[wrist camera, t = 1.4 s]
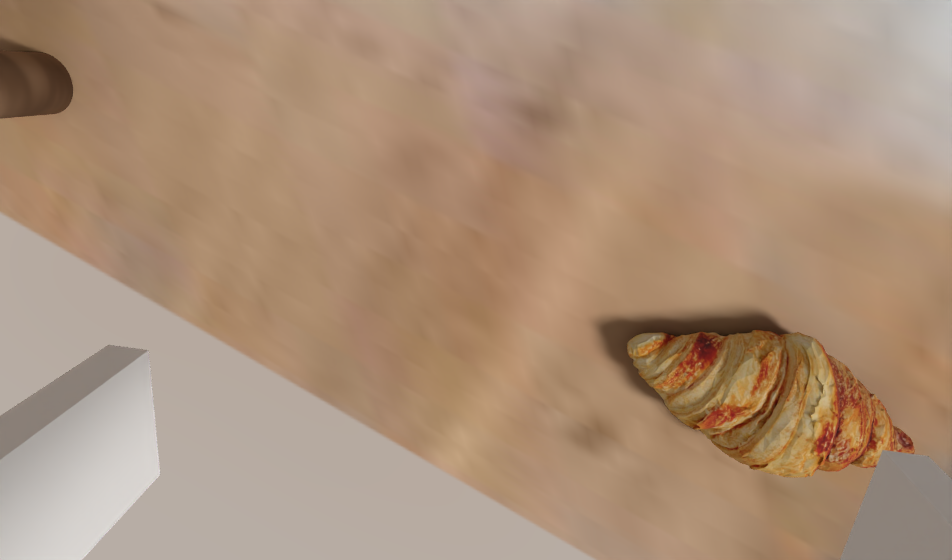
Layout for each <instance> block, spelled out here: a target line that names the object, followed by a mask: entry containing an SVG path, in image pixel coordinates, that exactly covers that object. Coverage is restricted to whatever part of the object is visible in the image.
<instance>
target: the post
mask: <svg viewBox="0 0 952 560" xmlns="http://www.w3.org/2000/svg"><path fill="white" fill-rule="evenodd" d="M72 96H73V85H72V81H71V78H70V75H69V73H68V71H67V70H66V68H65V67H64V66H63V65H62V63H61V62H59V61H58V60H57V59H56V58H54V57H53V56H51V55H48V54H46V53H41V52H21V51H0V118H11V117H23V116H35V115H47V114H56V113H59V112H61V111H63V110H65V109H66V108H67V107H68V105H69V104H70V102H71V99H72Z"/></svg>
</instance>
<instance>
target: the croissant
mask: <svg viewBox="0 0 952 560" xmlns="http://www.w3.org/2000/svg"><path fill="white" fill-rule="evenodd" d="M627 351H628V354H629V356H630V358H632V359H633V360H634V362H633V365H634V366H635V367H636V368H638V370H639V375H640V376H641V377H642V378H643V379H645V381H646V382H647V383H648V385H649V386H650V387H653V388H654V390H655V391H656V392H657V393H658V394H659V395H660V396H661V397H662V398H663V399H664V403H665V405H666V406H667V408H668V409H669V410H670V412H671V413H672V414H673V415H674V416H676V417H677V418H678V419H679V420H680V421H682V422H683V423H684V424H686V425H688V426H690V427H693V429H699V430H700V431H701V432H702V433H703V434H705V435H706V436H707V438H708V439H710V440H711V441H712V443H713V444H714V445H716V446H717V447H718V448H719V449H720V450H722V451H723V452H724V453H725V454H727V455H729V456H730V457H732V458H734V459H735V460H737V461H738V462H740V463H742V464H746V465H749V466H750V468H751V469H753V470H755V469H756V470H761V471H764V472H767V473H770V474H776V475H780V476H783V477H807V476H812V475H813V474H814V472H815V471H816V470H817V469H819V470H823V471H839V470H841V469H843V468H845V467H847V466H848V465H849V464H852V465H855V466H857V467H861V468H868V467H876V466H877V463H878V461H879V458H880V456H881V453H882V450H886V451H894V452H901V453H908V454H914V452H915V450H914V446H913V442H912V440H911V438H910V437H909V436H907V435H906V434H905V433H904V432H903V431H902V430H901V429H899V428H897V427H895V426H893V425H892V420H891V419H890V417H889V415H888V414H887V412H886V408H885V407H884V406H883V404H882V403H881V401H880V400H879V399H878V398H877V397H876V395H875V394H871V393H870V392H869V391H868V390H867V389H866V388H865V386H864V385H863V384H862V383H861V382H860V381H859V380H857V379H856V378H855V377H854V376H853V374H852V372H851V371H850V370H849V369H848V368H847V366H845V365H844V364H843V363H841V362H840V361H838V360H837V359H835V358H834V357H832V356H829V355H828V354H827V353H826V352H825V350H824V348H823V346H822V345H821V344H820V343H819V342H818V341H817V340H816V339H815V338H812V337H810V336H807V335H803V334H801V333H799V332H797V333H792V334H782V335H778V334H776V333H775V332H771V331H762V330H752V332H751V333H737V334H734V335H732V334H729V335H728V336H720V335H719V334H717V333H715V332H711V333H705V332H698V333H694V334H689V335H681V336H679V337H675V336H674V335H669V334H667V333H663V332H660V333H642V334H639V335H636V336H635V337H634V338H632V339H631V340H629V342H628V343H627Z"/></svg>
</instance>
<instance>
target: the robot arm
mask: <svg viewBox="0 0 952 560" xmlns="http://www.w3.org/2000/svg"><path fill="white" fill-rule="evenodd" d="M159 475H160V469H159V458H158V446H157V435H156V425H155V414H154V403H153V392H152V383H151V371H150V361H149V351H148V350H143V349H135V348H128V347H121V346H114V345H108V346H106V347H105V348H103V349H101V350H100V351H99V352H97V353H95V354H94V355H92V356H91V357H89V358H88V359H86V360H85V361H83V362H82V363H80V364H79V365H77V366H76V367H74V368H72V369H71V370H69V371H68V372H66V373H65V374H63V375H62V376H60V377H59V378H57V379H56V380H54V381H53V382H51V383H50V384H48V385H47V386H45V387H44V388H42V389H40V390H39V391H38V392H36V393H34V394H33V395H31V396H30V397H28V398H27V399H25V400H24V401H22V402H21V403H19V404H18V405H16V406H15V407H13V408H12V409H10V410H9V411H7V412H5V413H4V414H3V415H1V416H0V560H82V559H83V558H84V557H85V556H86V555H87V554H88V553H89V551H90V550H91V549H92V548H93V547H94V546H95V545H96V544H97V543H98V542H99V541H100V540H101V539H102V537H103V536H104V535H105V534H106V533H107V532H108V531H109V530H110V528H112V526H113V525H114V524H115V523H116V522H117V521H118V520H119V519H120V518H121V517H122V516H123V514H124V513H125V512H126V511H127V510H128V509H129V508H130V507H131V506H132V505H133V504H134V502H135V501H136V500H137V499H138V498H139V497H140V496H141V495H142V494H143V493H144V492H145V490H146V489H147V488H148V487H149V486H150V485H151V484H152V483H153V482H154V481H155V480H156V478H157V477H158V476H159ZM840 560H952V479H951V478H950V477H949V476H948V475H947V474H946V473H945V472H944V471H943V470H942V469H941V468H940V467H939V466H938V465H937V464H936V463H935V462H934V461H933V460H932V459H931V458H930V457H929V456H923V455H916V454H908V453H901V452H894V451H886V450H882V453H881V456H880V458H879V461H878V463H877V466H876V468H875V471H874V474H873V476H872V479H871V481H870V484H869V487H868V489H867V492H866V494H865V497H864V499H863V502H862V505H861V507H860V510H859V512H858V515H857V517H856V520H855V523H854V525H853V528H852V530H851V533H850V535H849V538H848V541H847V543H846V546H845V548H844V551H843V553H842V556H841V559H840Z"/></svg>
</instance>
